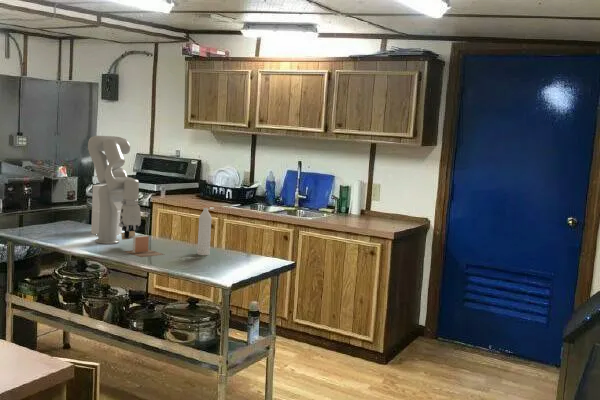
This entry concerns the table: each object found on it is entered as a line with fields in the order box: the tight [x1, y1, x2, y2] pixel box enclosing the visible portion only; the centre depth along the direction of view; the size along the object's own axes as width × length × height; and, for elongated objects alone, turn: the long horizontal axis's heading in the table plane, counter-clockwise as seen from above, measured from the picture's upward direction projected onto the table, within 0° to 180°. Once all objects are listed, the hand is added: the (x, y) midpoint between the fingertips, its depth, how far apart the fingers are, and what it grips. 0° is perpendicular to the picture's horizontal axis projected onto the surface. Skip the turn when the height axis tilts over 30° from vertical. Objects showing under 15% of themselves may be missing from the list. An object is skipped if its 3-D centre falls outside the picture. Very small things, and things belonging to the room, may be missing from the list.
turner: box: [120, 230, 144, 241], centre depth 327 cm, size 13×6×4 cm, turn 48°
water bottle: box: [196, 206, 215, 256], centre depth 331 cm, size 9×6×25 cm
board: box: [123, 248, 165, 258], centre depth 320 cm, size 16×14×2 cm
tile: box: [132, 235, 150, 253], centre depth 321 cm, size 2×8×8 cm, turn 138°
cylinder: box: [90, 183, 123, 236], centre depth 372 cm, size 17×17×28 cm
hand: (129, 237), depth 328 cm, fingers closed on turner, 2 cm apart
